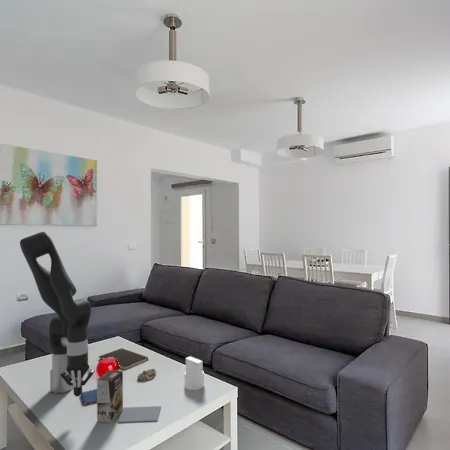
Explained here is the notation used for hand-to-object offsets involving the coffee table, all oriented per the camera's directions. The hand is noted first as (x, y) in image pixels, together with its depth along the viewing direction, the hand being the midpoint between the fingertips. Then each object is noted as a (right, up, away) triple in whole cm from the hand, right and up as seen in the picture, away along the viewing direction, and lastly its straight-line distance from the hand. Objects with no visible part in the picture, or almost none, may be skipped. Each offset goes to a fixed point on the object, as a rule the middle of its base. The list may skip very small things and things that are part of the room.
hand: (78, 395), depth 133 cm
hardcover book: (+1, -9, +56) cm, 57 cm away
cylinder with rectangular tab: (+43, -8, +25) cm, 51 cm away
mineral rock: (+19, -9, +35) cm, 41 cm away
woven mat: (+1, -9, +15) cm, 18 cm away
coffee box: (+12, -9, +1) cm, 15 cm away
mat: (+24, -8, +1) cm, 25 cm away
